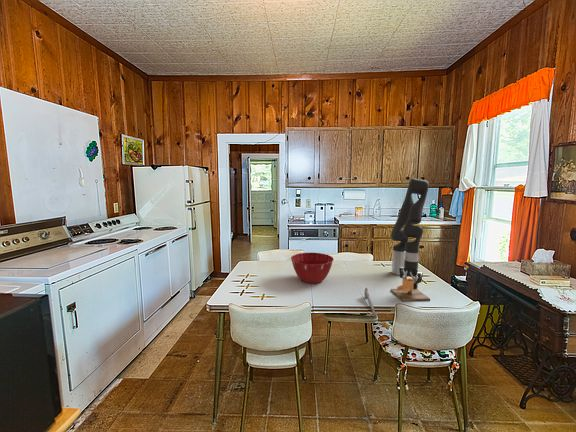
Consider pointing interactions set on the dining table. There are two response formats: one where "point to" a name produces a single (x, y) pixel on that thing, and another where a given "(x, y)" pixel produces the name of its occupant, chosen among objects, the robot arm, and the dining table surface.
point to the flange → (406, 285)
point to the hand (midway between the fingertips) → (409, 287)
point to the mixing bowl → (312, 266)
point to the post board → (410, 295)
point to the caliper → (369, 299)
